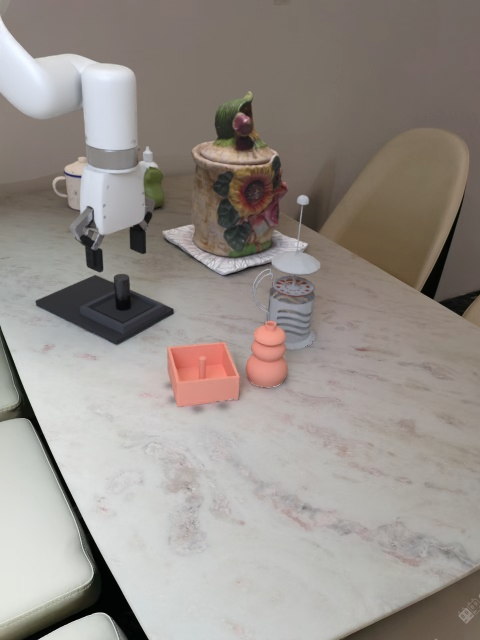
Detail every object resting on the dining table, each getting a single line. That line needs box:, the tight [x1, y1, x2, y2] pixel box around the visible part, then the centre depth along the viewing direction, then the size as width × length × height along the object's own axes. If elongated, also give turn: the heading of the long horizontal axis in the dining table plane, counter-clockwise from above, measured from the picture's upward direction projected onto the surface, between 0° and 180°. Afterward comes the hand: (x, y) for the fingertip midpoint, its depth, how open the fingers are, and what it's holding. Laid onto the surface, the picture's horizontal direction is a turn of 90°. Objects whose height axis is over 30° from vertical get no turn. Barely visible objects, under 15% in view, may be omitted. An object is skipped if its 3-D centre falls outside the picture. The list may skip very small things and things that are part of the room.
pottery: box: [166, 321, 288, 408], centre depth 89 cm, size 18×10×10 cm, turn 106°
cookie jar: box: [162, 91, 309, 276], centre depth 126 cm, size 25×25×32 cm
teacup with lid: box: [51, 156, 87, 211], centre depth 144 cm, size 12×9×12 cm
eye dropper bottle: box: [138, 146, 159, 183], centre depth 156 cm, size 4×6×12 cm
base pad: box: [35, 274, 175, 346], centre depth 106 cm, size 20×14×2 cm
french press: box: [252, 194, 321, 351], centre depth 98 cm, size 10×12×25 cm
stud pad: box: [93, 273, 153, 323], centre depth 103 cm, size 7×7×7 cm
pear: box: [144, 166, 165, 209], centre depth 148 cm, size 6×5×10 cm
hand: (117, 260), depth 99 cm, fingers open, 9 cm apart
